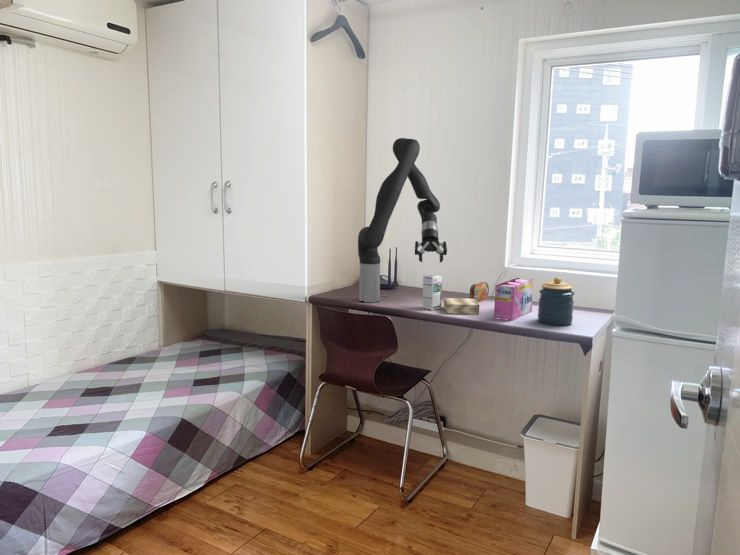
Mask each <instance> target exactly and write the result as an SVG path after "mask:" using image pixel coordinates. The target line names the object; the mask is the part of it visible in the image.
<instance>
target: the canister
mask: <svg viewBox="0 0 740 555" xmlns="http://www.w3.org/2000/svg"><path fill="white" fill-rule="evenodd" d="M572 289H573V286H572V285H570V284H569V283H568V282H563V281H562V279H561V278H560V277H559V276H557V277H555V278H554V279H553V281H546V282H545V283H543V284H541V289H539V291H538V292H539V294H540V295H539V298H538V309H537V311H538V312H537V321H538V322H539V323H541V324H545V325H548V324H549V325H548V326H558V325H563V326H570V325H572V323H573V320H574V319H573V316H574V315H573V314H574V313H573V312H574V311H573V310H574V303H575V301H574V300H573V299H574V295H575V292H574V291H573V290H572ZM569 324H570V325H569Z"/></svg>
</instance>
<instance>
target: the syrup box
mask: <svg viewBox="0 0 740 555" xmlns="http://www.w3.org/2000/svg"><path fill="white" fill-rule="evenodd" d="M442 282H443V277H442V275H441V274H435V273H434V274H432V273H431V274H426V275H423V276H422V309H424V308H426V309H425V310H427V309H430V310H429V311H436V310H435V309H437V310H441V309H442V291H443V290H442V289H443V287H442V284H443V283H442Z"/></svg>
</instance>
